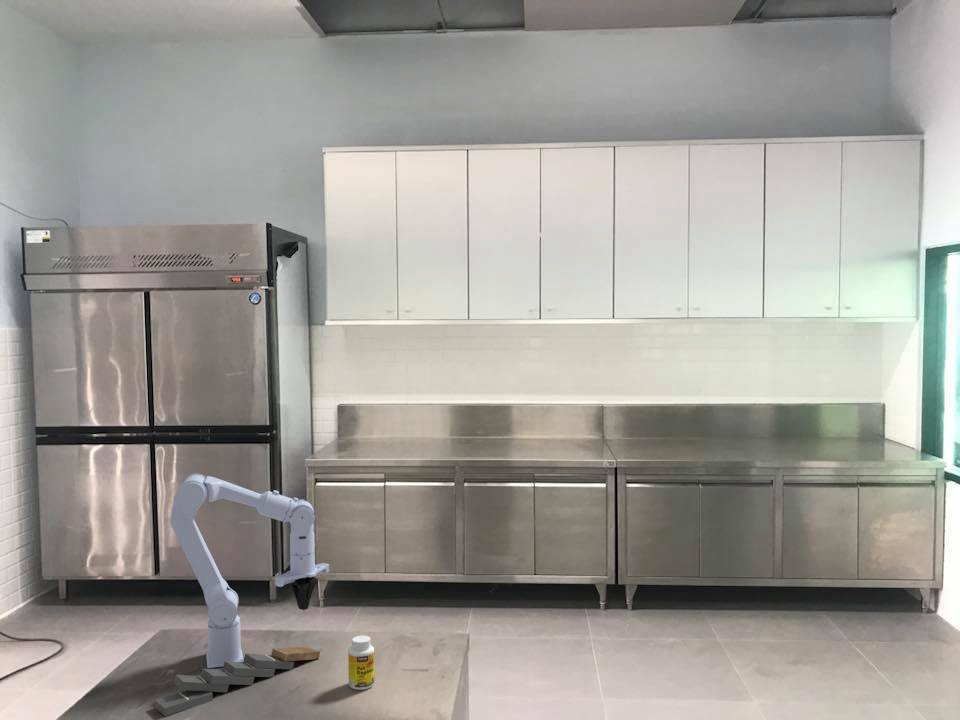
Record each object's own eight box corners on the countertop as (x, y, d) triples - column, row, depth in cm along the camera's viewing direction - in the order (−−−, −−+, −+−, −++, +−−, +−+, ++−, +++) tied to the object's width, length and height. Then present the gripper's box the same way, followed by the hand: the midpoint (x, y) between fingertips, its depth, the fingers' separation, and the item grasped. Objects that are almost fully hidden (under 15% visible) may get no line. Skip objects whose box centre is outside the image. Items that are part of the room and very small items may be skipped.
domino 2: (201, 685, 167) (154, 699, 160) (212, 692, 163) (165, 707, 156) (201, 693, 167) (154, 708, 160) (212, 701, 163) (164, 716, 156)
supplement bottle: (355, 693, 166) (354, 645, 165) (344, 683, 170) (343, 637, 170) (379, 686, 169) (378, 640, 168) (367, 677, 173) (367, 631, 173)
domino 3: (243, 669, 174) (202, 668, 167) (254, 676, 171) (213, 675, 164) (241, 678, 174) (199, 676, 167) (252, 685, 170) (210, 684, 163)
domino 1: (221, 676, 171) (176, 673, 165) (229, 684, 167) (183, 681, 161) (218, 685, 170) (173, 683, 164) (226, 692, 166) (180, 690, 160)
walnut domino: (306, 645, 187) (272, 647, 179) (320, 651, 184) (286, 653, 176) (305, 653, 187) (271, 656, 179) (318, 659, 184) (284, 661, 176)
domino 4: (264, 662, 178) (224, 660, 171) (275, 669, 174) (235, 667, 168) (261, 671, 177) (222, 669, 171) (273, 677, 174) (233, 676, 167)
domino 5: (283, 655, 182) (245, 653, 175) (294, 661, 178) (256, 659, 172) (280, 663, 181) (243, 661, 175) (292, 669, 178) (254, 668, 171)
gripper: (287, 562, 179) (288, 621, 179) (336, 548, 190) (337, 603, 191) (269, 557, 183) (270, 614, 184) (318, 543, 195) (318, 597, 195)
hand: (303, 608), depth 188 cm, fingers closed
